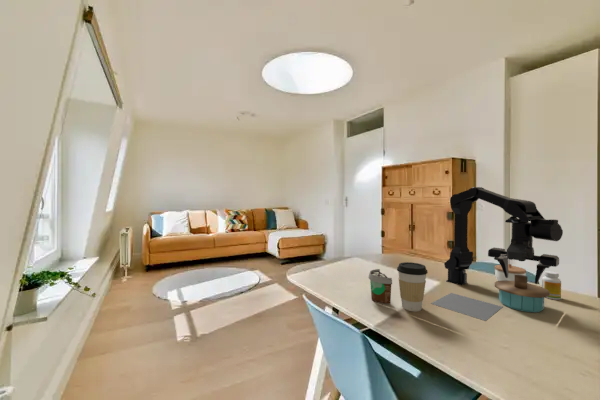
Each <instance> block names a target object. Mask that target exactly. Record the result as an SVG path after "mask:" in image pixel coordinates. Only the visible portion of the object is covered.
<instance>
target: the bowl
mask: <svg viewBox="0 0 600 400" xmlns="http://www.w3.org/2000/svg"><path fill="white" fill-rule="evenodd" d="M498 291H499V292H498V301H500V303H501V304H502V305H504V306H505V307H507V308H510V309H513V310H516V311H521V312H525V313H526V312H527V313H540V312H542V311H543V310H544V309H545V297H543V298H536V297H526V296H520V295H515V294H511V293H508V292H505V291H502V290H500V289H498Z"/></svg>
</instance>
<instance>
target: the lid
mask: <svg viewBox="0 0 600 400" xmlns="http://www.w3.org/2000/svg"><path fill="white" fill-rule="evenodd" d="M494 287H495V288H496V289H498V290H499V289H500V290H502V291H505V292H508V293H511V294H515V295H520V296H526V297H536V298H543V297H544V298H546V297H548V296H549V295H550V292H549V291H548V290H547V289H545V288H542V286H538V285H537V284H533V283H528V276H527V275H526V276H524V275H515V281H498V280H497V281H495V282H494Z"/></svg>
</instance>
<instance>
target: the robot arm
mask: <svg viewBox="0 0 600 400" xmlns="http://www.w3.org/2000/svg"><path fill="white" fill-rule="evenodd" d="M478 200H480V201H481V200H482V201H484V202H487V203H489V204H492V205H494V206H497V207H500V208H501V209H502V210H503V211H504V212H505V213H507V214H508V215H510V217H509V218H507V219H506V220H504V221H505V222H504V223H509V224H511V239H510V243H509V245H508V246H507V249H505V248H501V247H500V248H499V247H491V248H489V249H488V251H487V257H489V258H493V259H494V261H496V262H498V263H499V265H501V267H502V269H503V272H504V274H505V277H506V278H508V264H509V260H511V261H513V260H514V261H515V260H516V261H519V262H525V261H526V260H527V261H534V262H538V263H537V264H536V271H535V272H536V273H535V277H534V285H537V284H538V282H539V280H541V277H542V275H543V273H544V272H545V271H546V269H549V268H550V267H555V268H556V267H558V266H559V265H560V257H559V256H558V255H554V254H547V253H546V254H545V253H543V254H541V255H535V249H534V247H533V241H534V240H533V238H534V239H538V240H545V241H552V242H559V241H561V239H562V237H563V232H564V231H563V229H562V226H561V224H559V220H558V219H546V218H545V217H544V216H543V214H542V213H541V212H540V211H539V210H538V209H537V205H536V203H535V202H534V201H531V200H526V199H520V198H511V197H508V196H505V195H503V194H500V193H496V192H494V191H491V190H488V189H486V188H484V187H482V186H481V187H480V186H472V187H471V188H469V189H467V190H464V191H461V192H458V193H455V194H452V195H451V196H450V198H449V203H450V209H451V210H452V212H453V214H454V225H453V226H454V229H453V230H454V231H453V232H454V233H453V234H454V236H453V237H454V241H453V242H454V244H453V248H452V249H451V250H450V254H449V259H447V260H446V261H444V263H443V264H444V268H445V269H447V279H446V280H445V281H446V282H447V283H450V284H451V283H452V284H455V285H460V286H463V285H465V284H467V283H468V281H467V280H468V273H466V270H469V268H470V266H471V265H472V263H473V261H474V252H473V251H470V249H469V247H468V221H469V219H468V217H469V216H468V215H469V213H470V211H471V210H472V208H473V203H475V202H477V201H478Z"/></svg>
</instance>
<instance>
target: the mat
mask: <svg viewBox="0 0 600 400" xmlns="http://www.w3.org/2000/svg"><path fill="white" fill-rule="evenodd" d="M430 304H431V305H434V306H436V307H437V306H438V307H440V308H443V309H447V310H448V311H449V310H450V311H453V312H456V313H459V314H462V315H465V316H468V317H471V318H475V319H478V320H480V321H484V322H486V321H487V320H490V318H491V317H492V316H494V315H495V314H496V313H497V312H498V311H500V310H501V309H503V306H501V305H498V304H495V303H491V302H487V301H483V300H479V299H475V298H473V297H468V296H465V295H460V294H458V293H454V292H450V293H448V294H445V295H444V296H442V297H440V298H438V299H437V300H434V301H433V302H431V303H430Z"/></svg>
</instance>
